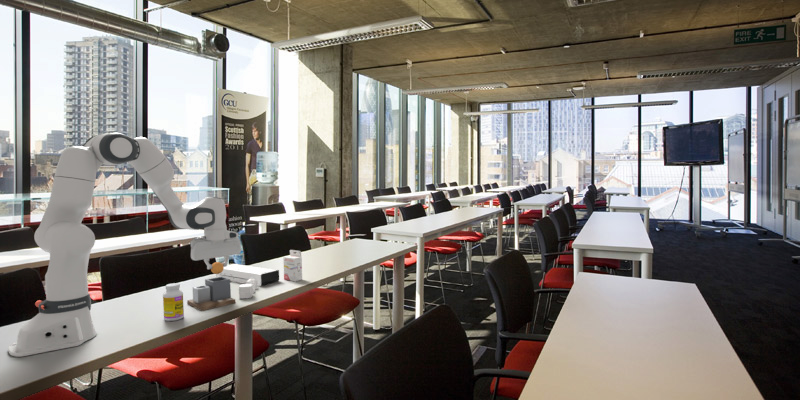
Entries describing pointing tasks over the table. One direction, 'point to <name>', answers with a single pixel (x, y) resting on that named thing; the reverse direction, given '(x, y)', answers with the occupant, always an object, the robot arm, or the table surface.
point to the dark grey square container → (219, 288)
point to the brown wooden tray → (211, 303)
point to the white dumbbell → (248, 288)
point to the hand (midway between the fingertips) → (217, 267)
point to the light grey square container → (201, 294)
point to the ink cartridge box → (293, 266)
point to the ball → (217, 268)
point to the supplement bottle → (173, 302)
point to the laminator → (249, 274)
